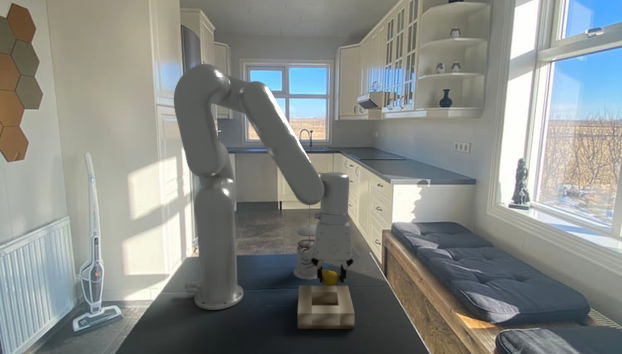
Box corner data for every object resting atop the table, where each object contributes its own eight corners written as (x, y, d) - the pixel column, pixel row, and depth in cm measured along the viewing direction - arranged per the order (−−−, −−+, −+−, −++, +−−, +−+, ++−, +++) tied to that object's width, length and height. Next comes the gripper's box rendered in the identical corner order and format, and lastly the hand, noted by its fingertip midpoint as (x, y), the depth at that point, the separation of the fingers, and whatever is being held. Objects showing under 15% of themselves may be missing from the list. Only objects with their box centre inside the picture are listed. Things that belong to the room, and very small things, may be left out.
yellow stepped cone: (345, 290, 93) (332, 276, 87) (328, 295, 95) (313, 281, 88) (342, 272, 97) (329, 258, 90) (325, 277, 98) (311, 263, 92)
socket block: (297, 328, 76) (297, 313, 75) (299, 298, 89) (299, 285, 88) (354, 328, 76) (354, 313, 75) (347, 299, 89) (347, 285, 88)
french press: (289, 268, 107) (289, 193, 103) (321, 263, 112) (322, 190, 108) (300, 281, 98) (300, 199, 94) (335, 275, 103) (336, 196, 99)
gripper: (302, 221, 86) (300, 286, 89) (367, 222, 86) (363, 287, 89) (302, 213, 93) (301, 274, 96) (362, 215, 94) (359, 275, 96)
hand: (331, 280), depth 92 cm, fingers closed on yellow stepped cone, 5 cm apart
